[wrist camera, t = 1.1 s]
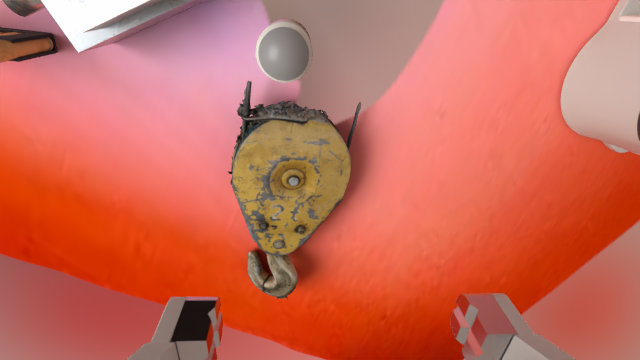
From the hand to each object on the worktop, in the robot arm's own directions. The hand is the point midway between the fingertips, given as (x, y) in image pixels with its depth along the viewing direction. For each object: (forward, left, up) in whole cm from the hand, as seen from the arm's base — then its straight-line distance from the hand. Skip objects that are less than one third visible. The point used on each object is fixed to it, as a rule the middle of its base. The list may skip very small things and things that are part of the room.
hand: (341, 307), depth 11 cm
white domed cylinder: (+1, -5, -29) cm, 30 cm away
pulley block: (+9, +12, -30) cm, 33 cm away
